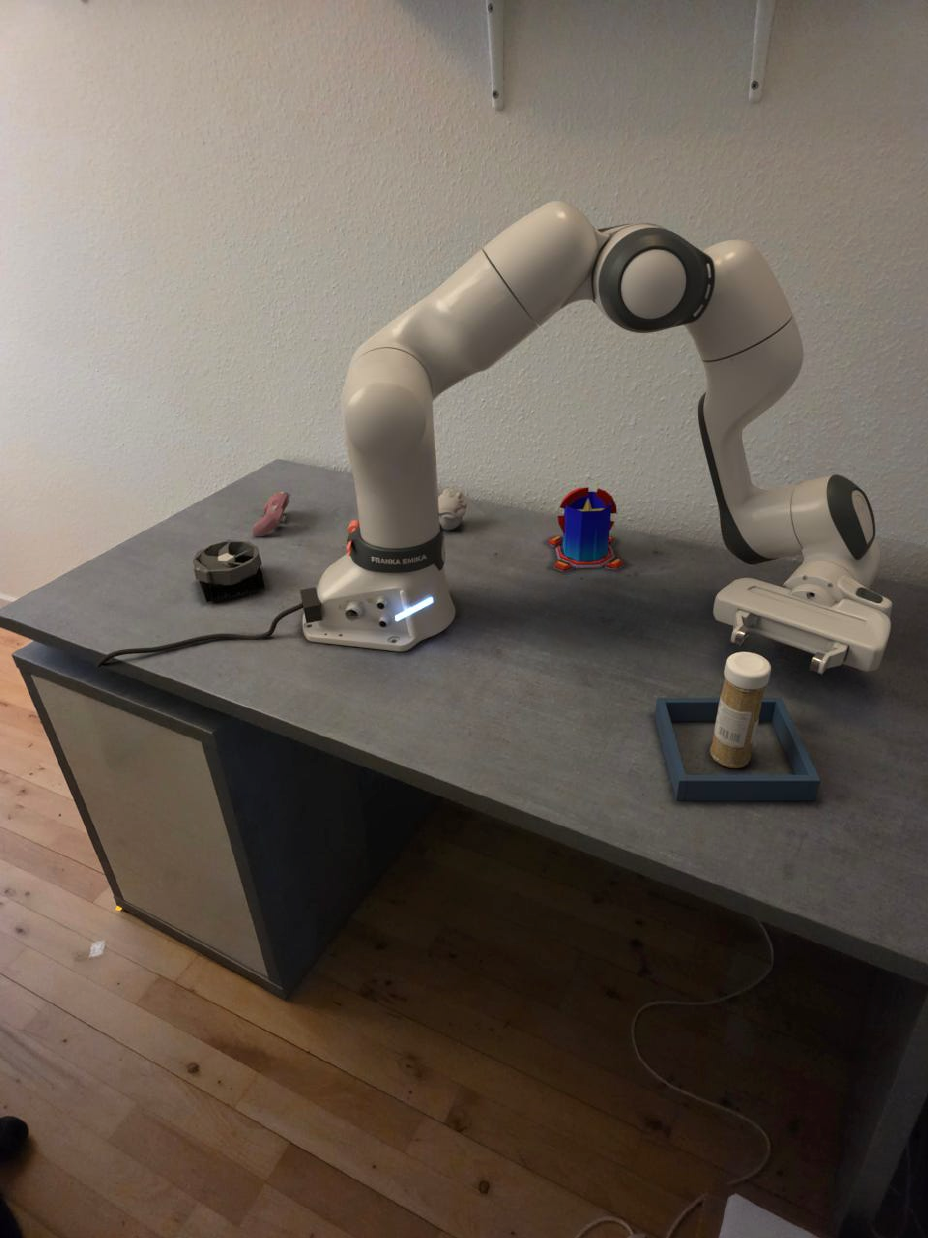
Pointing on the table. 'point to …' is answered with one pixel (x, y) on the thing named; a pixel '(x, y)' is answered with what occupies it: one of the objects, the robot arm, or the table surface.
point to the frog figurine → (451, 508)
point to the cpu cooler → (228, 570)
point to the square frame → (736, 785)
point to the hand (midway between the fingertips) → (775, 652)
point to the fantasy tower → (586, 532)
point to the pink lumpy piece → (272, 514)
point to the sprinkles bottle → (739, 708)
